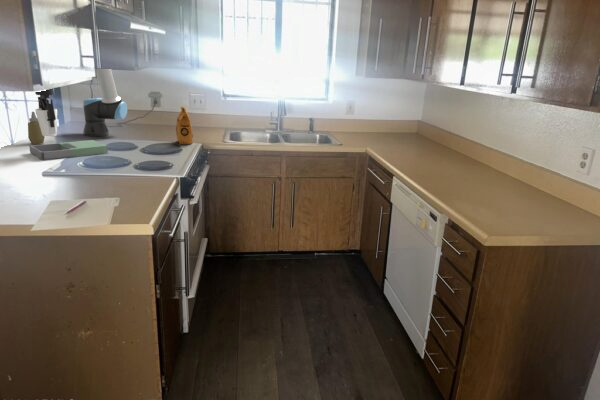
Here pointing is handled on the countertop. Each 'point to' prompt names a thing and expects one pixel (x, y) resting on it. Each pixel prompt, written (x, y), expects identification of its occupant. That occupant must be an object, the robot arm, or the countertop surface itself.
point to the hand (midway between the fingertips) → (49, 132)
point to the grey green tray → (68, 149)
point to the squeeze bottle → (35, 131)
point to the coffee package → (184, 128)
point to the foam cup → (45, 121)
